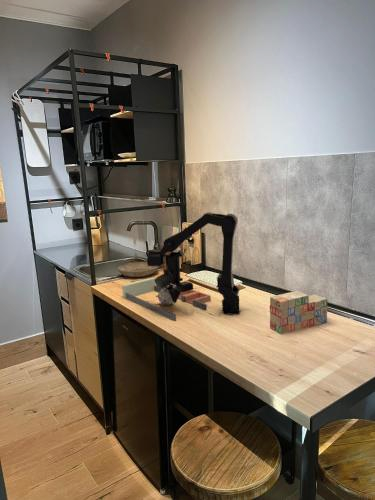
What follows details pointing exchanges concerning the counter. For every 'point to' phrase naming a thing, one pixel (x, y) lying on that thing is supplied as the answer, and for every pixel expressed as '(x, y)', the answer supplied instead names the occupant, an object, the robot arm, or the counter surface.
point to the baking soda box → (174, 251)
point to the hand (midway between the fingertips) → (174, 302)
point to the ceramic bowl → (137, 269)
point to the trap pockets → (195, 296)
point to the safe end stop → (139, 287)
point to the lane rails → (160, 310)
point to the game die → (164, 297)
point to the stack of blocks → (296, 311)
